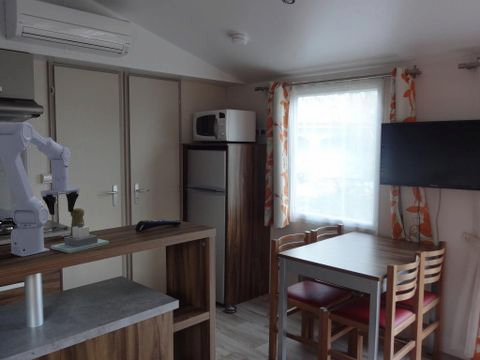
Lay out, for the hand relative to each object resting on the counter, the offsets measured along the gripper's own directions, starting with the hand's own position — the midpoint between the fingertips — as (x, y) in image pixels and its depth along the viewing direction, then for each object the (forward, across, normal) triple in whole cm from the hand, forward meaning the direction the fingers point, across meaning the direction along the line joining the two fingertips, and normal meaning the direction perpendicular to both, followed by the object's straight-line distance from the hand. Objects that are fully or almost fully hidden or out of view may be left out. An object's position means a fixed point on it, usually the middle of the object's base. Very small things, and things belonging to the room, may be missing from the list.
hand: (61, 213), depth 154 cm
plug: (+9, -2, -15) cm, 18 cm away
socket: (+10, -2, -15) cm, 18 cm away
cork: (+11, +8, +2) cm, 13 cm away
